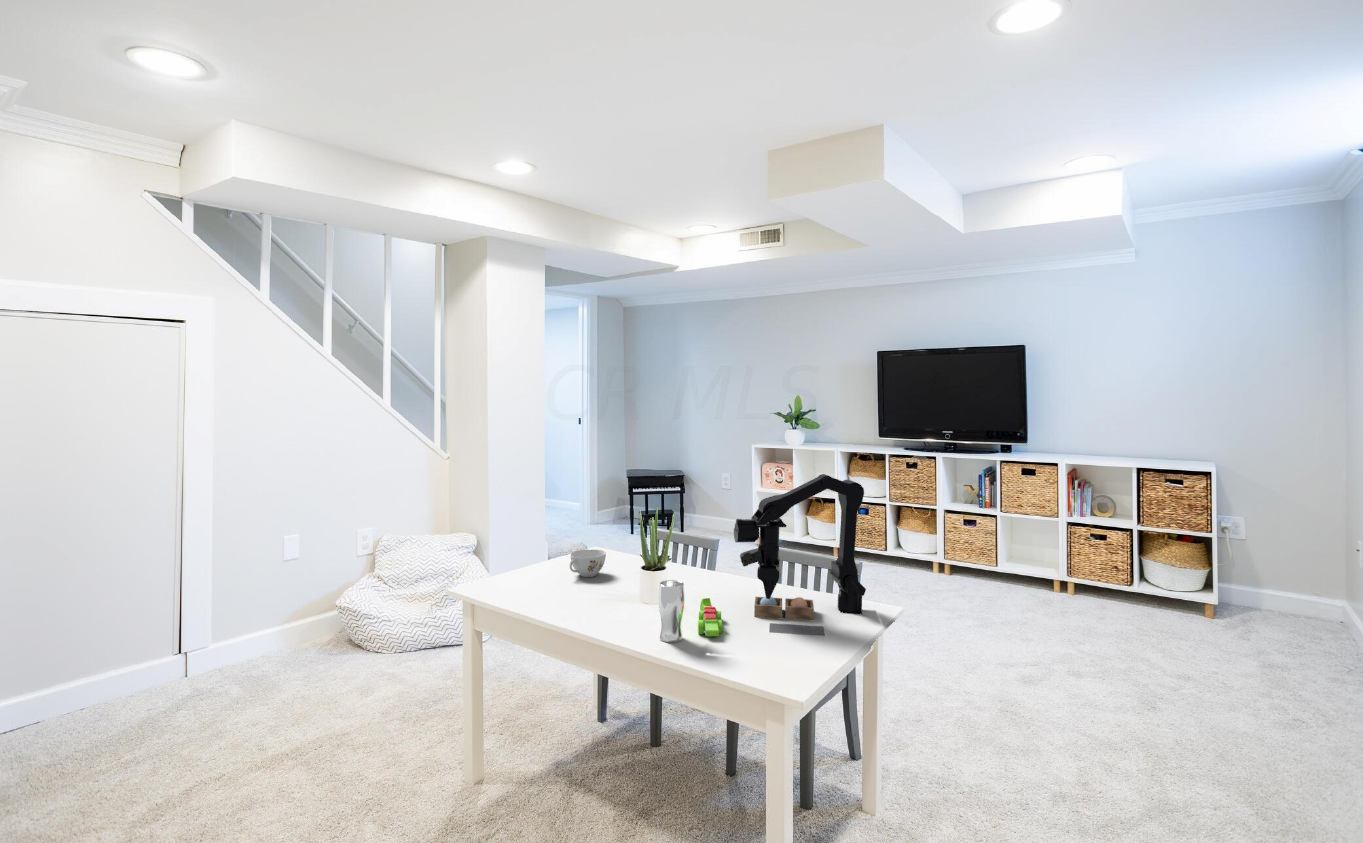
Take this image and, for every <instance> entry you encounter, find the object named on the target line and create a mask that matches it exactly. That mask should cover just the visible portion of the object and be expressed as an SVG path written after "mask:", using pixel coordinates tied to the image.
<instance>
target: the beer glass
mask: <svg viewBox="0 0 1363 843" xmlns="http://www.w3.org/2000/svg"><path fill="white" fill-rule="evenodd" d="M658 608H659V616H660V622H661V623H660V624H661V628H660V634H659V639H660V641H662V642H664V643H670V644H671V643H679V642H681V641H682V640H683V633H682V620H683V615H684V610H685V583H684V582H683V581H681V580H678V579H668V580H667V579H666V580H662V581H660V582H659V585H658Z"/></svg>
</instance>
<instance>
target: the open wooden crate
mask: <svg viewBox="0 0 1363 843" xmlns="http://www.w3.org/2000/svg"><path fill="white" fill-rule="evenodd" d="M763 597H764V596H755V598H754V615H753V616H754V618H767V619H783V597H773V598H774V599H775V600H776V602H777V606H772V605H760V601H761V599H762V598H763Z"/></svg>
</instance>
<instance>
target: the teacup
mask: <svg viewBox="0 0 1363 843" xmlns="http://www.w3.org/2000/svg"><path fill="white" fill-rule="evenodd" d="M606 555H607V552H606V551H605V550H602V549H579V550H575V551H572V552H571V553H570V562H569V569H570V571H571V572H572V573H577V574H579V575H580V576H581V577H583V578H591V577H596V576H597V575H598V573H600V571H601V570H602V569H603V567H604V565H605V562H606ZM572 567H573V568H572Z"/></svg>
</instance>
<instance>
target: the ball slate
mask: <svg viewBox="0 0 1363 843" xmlns="http://www.w3.org/2000/svg"><path fill="white" fill-rule="evenodd" d="M762 597H763V598H762V599H761V601H760V605H772V606H777V602H776V600H775V599H774V598H775V597H773V596H771V597H770V599H766V595H765V596H762Z"/></svg>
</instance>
